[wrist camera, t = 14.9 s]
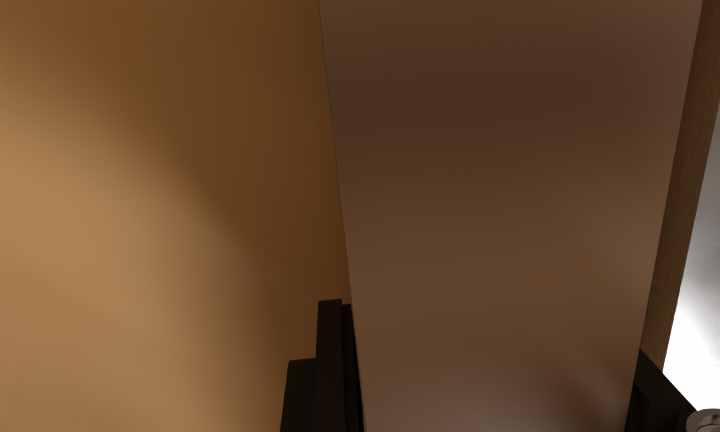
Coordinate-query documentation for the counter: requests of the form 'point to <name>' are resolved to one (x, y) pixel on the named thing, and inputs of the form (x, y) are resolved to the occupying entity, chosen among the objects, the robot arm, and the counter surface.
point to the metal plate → (691, 236)
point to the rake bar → (503, 201)
